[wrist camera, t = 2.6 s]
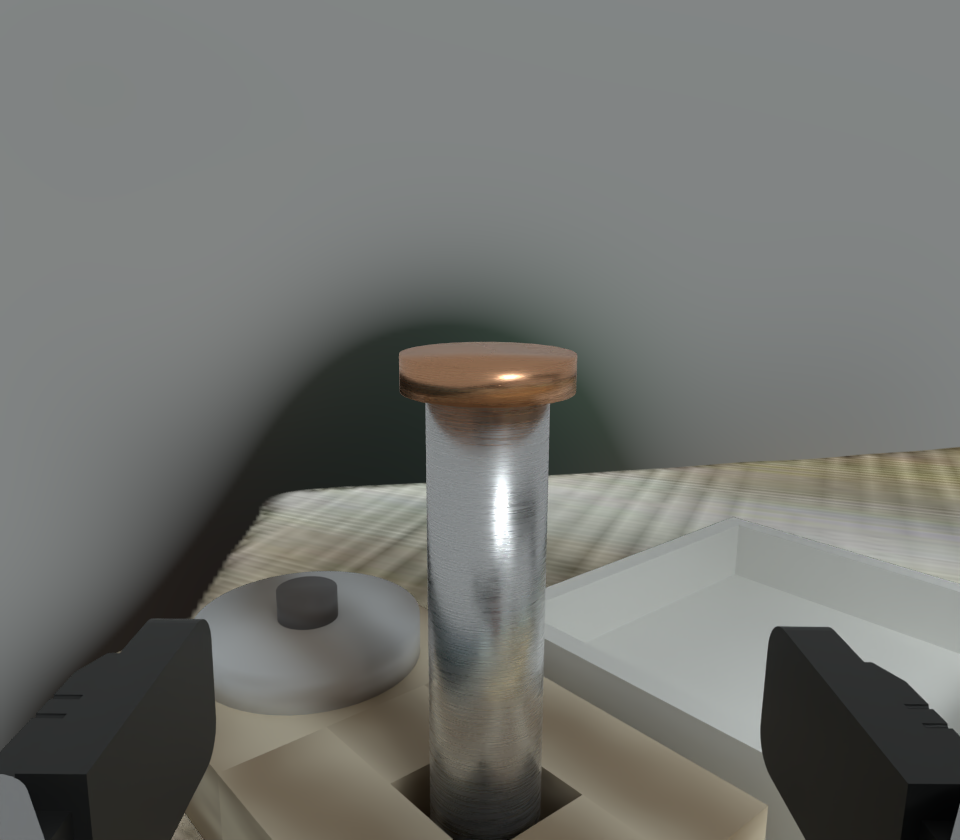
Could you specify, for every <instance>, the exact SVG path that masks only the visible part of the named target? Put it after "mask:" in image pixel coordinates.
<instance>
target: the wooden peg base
mask: <svg viewBox="0 0 960 840" xmlns="http://www.w3.org/2000/svg"><path fill="white" fill-rule="evenodd" d="M194 619H205V620H206V621H207V622H208V624H209V627H210V631H211V639H212V657H213V674H214V691H215V708H216V735H215V742H214V748H213V753H212V756H211V760H210V763H209V765H208V768H207V770H206V772H205V774H204V776H203V778H202V780H201V782H200V784H199V785H198V787H197V789H196V791H195V793H194V795H193V797H192V799H191V801H190V803H189V805H188V807H187V809H186V811H185V813H186V815H187V816H188V817H189V819H190V820H191V822H192V823H193V824H194V826H195V827H196V829H197V830H198V831H199V833H200V834H201V836H202V837H203V838H204V840H453V839H452V838H451V837H450V836H448V835H447V834H446V833H445V832H444V831H443V830H442V829H441V828H439V827H438V826H437V825H436V824H435V823H434V822H433V821H432V820H430V745H429V657H428V610H427V609H425V608H424V607H422V606H420V605H418V603H417V601H416V600H415V598H414V597H413V596H412V595H411V594H410V593H409V592H408V591H407V590H405V589H404V588H402V587H401V586H399V585H397V584H395V583H393V582H390V581H388V580H385V579H382V578H378V577H375V576H370V575H365V574H360V573H351V572H339V571H317V572H302V573H293V574H286V575H281V576H276V577H271V578H267V579H263V580H259V581H256V582H252V583H249V584H246V585H243V586H241V587H238V588H236V589H233V590H231V591H229V592H227V593H225V594H223V595H221V596H220V597H218V598H216V599H215V600H213V601H212V602H210V603H209V604H208V605H206V606H205V607H204V608H203V609H202V610H201V611H200V612H199V613H198V614H197V616H196V617H195V618H194ZM120 652H121V651H120ZM120 652H118V653H120ZM767 814H768V805H766V804H765V803H763V802H761V801H759V800H758V799H756V798H754V797H752V796H751V795H749V794H747V793H746V792H744V791H742V790H740V789H739V788H737V787H735V786H733V785H732V784H730V783H728V782H726V781H725V780H723V779H721V778H719V777H718V776H716V775H714V774H712V773H711V772H709V771H707V770H706V769H704V768H702V767H700V766H699V765H697V764H695V763H693V762H692V761H690V760H688V759H686V758H685V757H683V756H681V755H679V754H678V753H676V752H674V751H672V750H671V749H669V748H667V747H665V746H664V745H662V744H660V743H659V742H657V741H655V740H653V739H652V738H650V737H648V736H646V735H645V734H643V733H641V732H639V731H638V730H636V729H634V728H632V727H631V726H629V725H627V724H625V723H624V722H622V721H620V720H619V719H617V718H615V717H613V716H612V715H610V714H608V713H606V712H605V711H603V710H601V709H599V708H598V707H596V706H594V705H592V704H591V703H589V702H587V701H585V700H584V699H582V698H580V697H578V696H577V695H575V694H573V693H572V692H570V691H568V690H566V689H565V688H563V687H561V686H559V685H558V684H556V683H554V682H552V681H551V680H549V679H547V678H545V677H543V721H542V764H541V807H540V822H538V823H537V824H535V825H534V826H532V827H530V828H529V829H527V830H526V831H524V832H523V833H521V834H519V835H518V836H516V837H515V838H513V839H511V840H765V835H766V824H767Z"/></svg>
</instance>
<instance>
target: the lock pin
mask: <svg viewBox="0 0 960 840" xmlns="http://www.w3.org/2000/svg"><path fill="white" fill-rule="evenodd" d="M576 374H577V354H576V353H575V352H573V351H571V350H567V349H564V348H559V347H554V346H546V345H538V344H526V343H509V342H508V343H507V342H463V343H462V342H461V343H444V344H433V345H425V346H418V347H413V348H409V349H406V350H403V351H401V352H400V353H399V378H400V393H401V394H402V395H403V396H405V397H407V398H409V399H413V400H416V401H420V402H425V403H426V473H427V474H426V475H427V476H426V477H427V478H426V479H427V568H428V657H429V745H430V820H432V821H433V822H434V823H435V824H436V825H437V826H438V827H439V828H441V829H442V830H443V831H444V832H445V833H446V834H447V835H448V836H450V837H451V838H452V839H453V840H511V839H513V838H515V837H516V836H518V835H519V834H521V833H523V832H524V831H526V830H527V829H529V828H530V827H532V826H534V825H535V824H537V823H538V822H540V807H541V764H542V721H543V677H544V634H545V590H546V547H547V504H548V459H549V417H550V403H554V402H559V401H562V400H566V399H568V398H570V397H572V396H574V395H575V393H576Z"/></svg>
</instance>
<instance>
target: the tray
mask: <svg viewBox="0 0 960 840" xmlns="http://www.w3.org/2000/svg"><path fill="white" fill-rule="evenodd" d="M777 626H796V627H830V628H832V629H833V630H835V632H836V633H837V634H838V635H839V636H840V637H841V638H842V639H843V640H844V641H845V642H846V643H847V644H848V645H849V646H850V648H851V649H852V650H853V651H854V652H855V653H856V654H857V655H858V656H859V657H860V658H861V659H862V660H863V661H864V662H873V663H874V664H876V665H878V666H880V667H881V668H883V669H885V670H887V671H888V672H890V673H892V674H894V675H895V676H897V677H899V678H901V679H902V680H904V681H906V682H907V683H908V684H909V685H910V686H911V687H912V688H913V689H914V690H915V691H916V692H917V693H918V694H919V695H920V696H921V697H922V698H923V699H924V700H925V701H926V702H927V703H928V704H929V709H934V710H935V711H936V712H937V713H938V714H939V715H940V716H941V717H942V718H943V719H944V720H945V721H946V722H947V723H948V728H953V729H954V730H955V731H956V732H957V733H958V735H959V736H960V584H959V583H956V582H952V581H949V580H945V579H942V578H939V577H935V576H932V575H928V574H925V573H922V572H918V571H915V570H912V569H908V568H905V567H901V566H898V565H895V564H891V563H888V562H884V561H881V560H878V559H874V558H871V557H868V556H864V555H861V554H857V553H854V552H851V551H847V550H844V549H841V548H837V547H834V546H830V545H827V544H824V543H820V542H817V541H813V540H810V539H807V538H803V537H800V536H797V535H793V534H790V533H786V532H783V531H780V530H776V529H773V528H770V527H766V526H763V525H759V524H756V523H753V522H749V521H746V520H742V519H739V518H736V517H732V518H729V519H726V520H724V521H721V522H718V523H716V524H713V525H710V526H708V527H705V528H702V529H700V530H697V531H695V532H692V533H689V534H687V535H684V536H681V537H679V538H676V539H673V540H671V541H668V542H665V543H663V544H660V545H658V546H655V547H652V548H650V549H647V550H644V551H642V552H639V553H636V554H634V555H631V556H628V557H626V558H623V559H621V560H618V561H615V562H613V563H610V564H607V565H605V566H602V567H599V568H597V569H594V570H592V571H589V572H586V573H584V574H581V575H578V576H576V577H573V578H570V579H568V580H565V581H562V582H560V583H557V584H555V585H552V586H549V587H547V588H546V590H545V634H544V677H545V678H547V679H549V680H551V681H552V682H554V683H556V684H558V685H559V686H561V687H563V688H565V689H566V690H568V691H570V692H572V693H573V694H575V695H577V696H578V697H580V698H582V699H584V700H585V701H587V702H589V703H591V704H592V705H594V706H596V707H598V708H599V709H601V710H603V711H605V712H606V713H608V714H610V715H612V716H613V717H615V718H617V719H619V720H620V721H622V722H624V723H625V724H627V725H629V726H631V727H632V728H634V729H636V730H638V731H639V732H641V733H643V734H645V735H646V736H648V737H650V738H652V739H653V740H655V741H657V742H659V743H660V744H662V745H664V746H665V747H667V748H669V749H671V750H672V751H674V752H676V753H678V754H679V755H681V756H683V757H685V758H686V759H688V760H690V761H692V762H693V763H695V764H697V765H699V766H700V767H702V768H704V769H706V770H707V771H709V772H711V773H712V774H714V775H716V776H718V777H719V778H721V779H723V780H725V781H726V782H728V783H730V784H732V785H733V786H735V787H737V788H739V789H740V790H742V791H744V792H746V793H747V794H749V795H751V796H752V797H754V798H756V799H758V800H759V801H761V802H763V803H765V804H766V805H768V814H767V824H766V835H765V840H805V838H804V836H803V835H802V833H801V831H800V829H799V827H798V826H797V824H796V822H795V820H794V818H793V817H792V815H791V813H790V811H789V809H788V808H787V806H786V804H785V802H784V800H783V799H782V797H781V795H780V793H779V792H778V790H777V788H776V786H775V784H774V783H773V781H772V779H771V777H770V775H769V773H768V771H767V769H766V766H765V762H764V759H763V754H762V748H761V739H760V724H761V713H762V703H763V692H764V682H765V671H766V661H767V650H768V642H769V637H770V634H771V632H772V630H773V629H774V628H775V627H777Z"/></svg>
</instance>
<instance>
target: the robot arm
mask: <svg viewBox="0 0 960 840" xmlns="http://www.w3.org/2000/svg"><path fill="white" fill-rule="evenodd" d="M215 735H216V708H215V691H214V674H213V657H212V639H211V631H210V627H209V624H208V622H207V621H206V620H205V619H150V620H149V621H147V622H146V624H145V625H144V626H143V627H142V628H141V629H140V631H139V632H138V633H137V634H136V635H135V636H134V637H133V639H132V640H131V641H130V642H129V643H128V644H127V645H126V647H125V648H124V649H123V650H122V651H121V652H120V653H107V654H106V655H104V656H102V657H101V658H99V659H97V660H95V661H94V662H92V663H90V664H88V665H87V666H85V667H83V668H81V669H80V670H78V671H76V672H75V673H74V674H73V675H72V676H71V677H70V678H69V679H68V680H67V681H66V682H65V684H63V686H62V687H61V688H60V689H59V690H58V691H57V692H56V693H55V694H54V698H53V699H49V700H48V702H47V703H46V704H45V705H44V706H43V707H42V708H41V709H40V710H39V711H38V712H37V714H36V718H32V719H31V720H30V721H29V722H28V723H27V724H26V725H25V726H24V727H23V728H22V729H21V730H20V731H19V733H18V734H17V735H16V736H15V737H14V738H13V739H12V740H11V741H10V742H9V743H8V744H7V745H6V746H5V747H4V748H3V749H2V751H1V752H0V840H171V838H172V836H173V834H174V832H175V830H176V828H177V827H178V825H179V823H180V821H181V819H182V817H183V815H184V813H185V811H186V809H187V807H188V805H189V803H190V801H191V799H192V797H193V795H194V793H195V791H196V789H197V787H198V785H199V784H200V782H201V780H202V778H203V776H204V774H205V772H206V770H207V768H208V765H209V763H210V760H211V756H212V753H213V748H214V742H215ZM760 739H761V748H762V754H763V759H764V762H765V766H766V769H767V771H768V773H769V775H770V777H771V779H772V781H773V783H774V784H775V786H776V788H777V790H778V792H779V793H780V795H781V797H782V799H783V800H784V802H785V804H786V806H787V808H788V809H789V811H790V813H791V815H792V817H793V818H794V820H795V822H796V824H797V826H798V827H799V829H800V831H801V833H802V835H803V836H804V838H805V840H960V736H959V735H958V733H957V732H956V731H955V730H954V729H953V728H948V723H947V722H946V721H945V720H944V719H943V718H942V717H941V716H940V715H939V714H938V713H937V712H936V711H935V710H934V709H929V704H928V703H927V702H926V701H925V700H924V699H923V698H922V697H921V696H920V695H919V694H918V693H917V692H916V691H915V690H914V689H913V688H912V687H911V686H910V685H909V684H908V683H907V682H906V681H904V680H902V679H901V678H899V677H897V676H895V675H894V674H892V673H890V672H888V671H887V670H885V669H883V668H881V667H880V666H878V665H876V664H874V663H873V662H864V661H863V660H862V659H861V658H860V657H859V656H858V655H857V654H856V653H855V652H854V651H853V650H852V649H851V648H850V646H849V645H848V644H847V643H846V642H845V641H844V640H843V639H842V638H841V637H840V636H839V635H838V634H837V633H836V632H835V630H833V629H832V628H830V627H796V626H777V627H775V628H774V629H773V630H772V632H771V634H770V637H769V642H768V650H767V661H766V671H765V682H764V692H763V703H762V713H761V724H760Z"/></svg>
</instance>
